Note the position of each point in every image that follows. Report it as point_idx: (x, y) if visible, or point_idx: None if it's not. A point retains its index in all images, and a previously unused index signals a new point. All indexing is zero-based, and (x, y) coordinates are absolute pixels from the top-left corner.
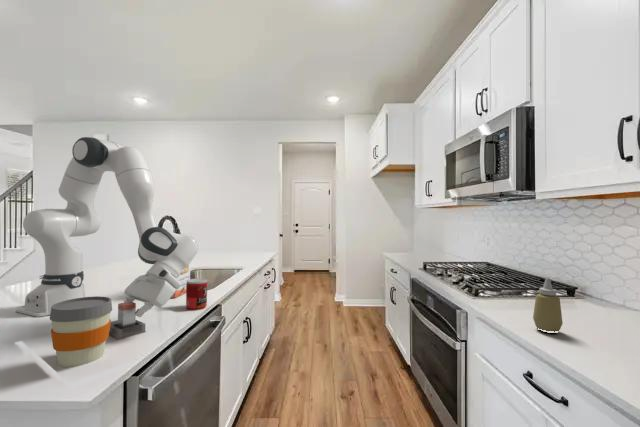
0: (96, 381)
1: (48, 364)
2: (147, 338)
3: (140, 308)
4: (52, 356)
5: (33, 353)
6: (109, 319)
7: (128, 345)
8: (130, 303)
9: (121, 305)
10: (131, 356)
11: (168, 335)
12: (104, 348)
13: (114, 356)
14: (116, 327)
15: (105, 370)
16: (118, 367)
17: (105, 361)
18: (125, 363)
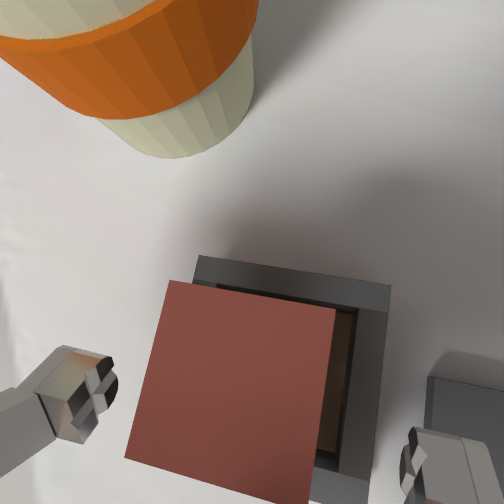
0: (5, 64)
1: (276, 21)
2: (128, 396)
3: (19, 398)
4: (350, 50)
5: (472, 16)
6: (9, 44)
7: (145, 280)
8: (183, 406)
9: (231, 292)
10: (36, 213)
11: (44, 494)
12: (110, 129)
13: (102, 179)
14: (280, 289)
15: (37, 107)
16: (12, 140)
17: (96, 139)
18: (12, 168)
